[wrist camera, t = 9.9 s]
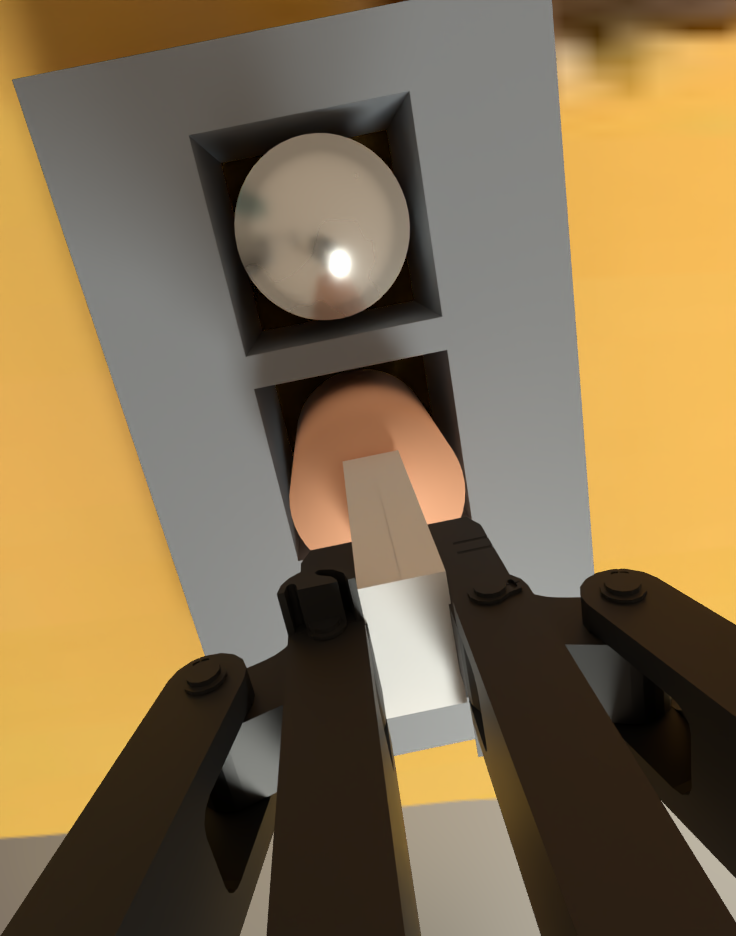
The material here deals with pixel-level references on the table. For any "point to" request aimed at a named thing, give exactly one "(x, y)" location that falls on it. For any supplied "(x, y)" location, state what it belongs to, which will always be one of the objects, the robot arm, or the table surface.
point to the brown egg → (366, 452)
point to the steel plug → (322, 226)
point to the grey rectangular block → (340, 340)
